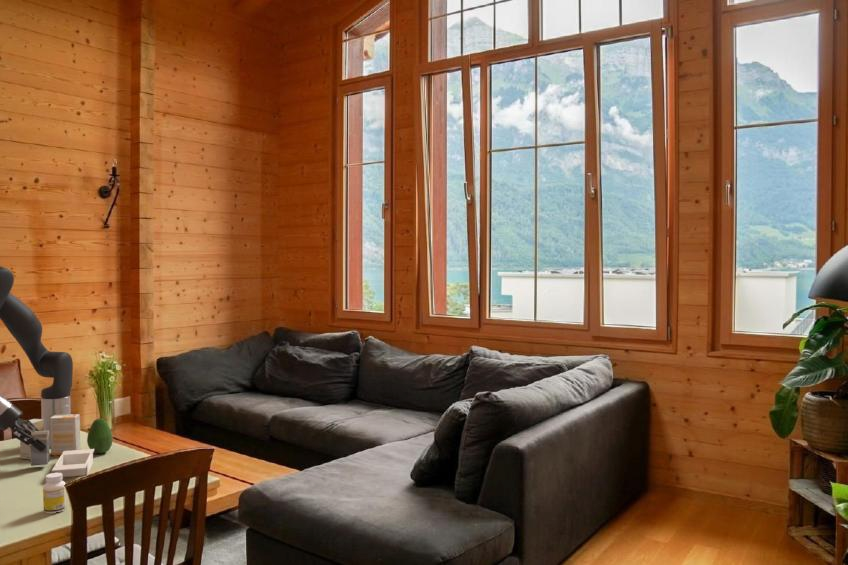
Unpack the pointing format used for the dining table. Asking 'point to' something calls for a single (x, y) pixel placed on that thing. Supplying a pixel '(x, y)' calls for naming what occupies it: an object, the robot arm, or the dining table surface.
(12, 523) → the dining table surface
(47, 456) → the capped block
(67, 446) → the supplement box
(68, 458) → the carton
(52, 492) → the supplement bottle
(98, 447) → the avocado
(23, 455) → the skincare box
